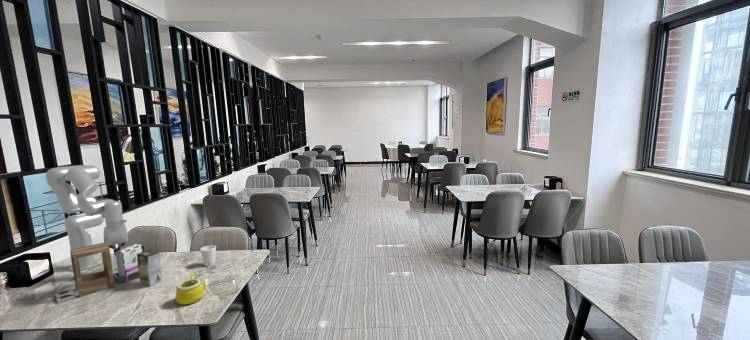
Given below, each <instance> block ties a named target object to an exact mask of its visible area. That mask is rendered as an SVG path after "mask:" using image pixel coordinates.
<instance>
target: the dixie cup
mask: <svg viewBox="0 0 750 340" xmlns="http://www.w3.org/2000/svg"><path fill="white" fill-rule="evenodd" d="M199 250H200V253H201V257H202V261H203V264H204V265H205V267H211V266H210V265H212V266H214V265H215V264H216V258H217V257H216V255H217V254H216V252H217V246H216V245H206V246H202V247H200V249H199ZM213 264H214V265H213ZM204 265H203V266H204Z"/></svg>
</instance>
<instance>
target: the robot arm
mask: <svg viewBox="0 0 750 340" xmlns="http://www.w3.org/2000/svg"><path fill="white" fill-rule="evenodd" d="M100 176H101V171H100V170H99V168H98V167H96V166H94V165H86V164H79V165H67V166H58V167H57V166H56V167H52V168H50V169H48V170H47V171H46V173H45V179H46V183H47V185H48V186H49V187H50V189H51V190H52V191H53V192H54V195H55V196H56V199H57V202H58V203H59V206H60V208H61V210H62V212H63V213H65V214H72V215H69V216H67V217H66V218H65V219H64V221H63V224H64V227H65V231H66V233H67V236H68V242H69V248H70V249H69V250H72V249H77V248H81V247H86V246H91V245H93V242H92V236H91V234H90V233H89V232H88V231H86V230H88V229H91V228H96V227H99V226H101V225H102V224H103V223H104V221H105V226H104V228H103V243H105V244H106V245H107V246H108V247H109V248H110V249H112V251H113V255H114V256H116V253H115V252H116V251H119V250H121V249H123V247H124V246H125V245H127V244H129V235H128V231H127V230H128V229H127V226H126V225H125V223H127V219H124V215H123V206H122V204H123V203H122V201H119V200H114V199H110V198H108V199H107V198H106V199H101V200H97V199H96V198H95V197H94V195H92V194H93V193H95V192H96V191H97V189H98V187H99V186H98V184H97V183H96V181H95V180H98V179H99V178H100ZM68 182H70V183H71V184H72V185H73V186H72V185H71V184H69V183H68ZM76 190H77V191H78V194H77V191H76ZM80 212H82V213H80ZM75 213H76V214H75ZM116 245H117V246H116ZM79 264H80V271H84V270H88V269H91V268H94V267H96V266H98V264H99V261H97V260H95V254H94V255H90V256H85V257H81V258H79ZM69 271H71V272H73V268H72V265H71V266H70V267H69Z"/></svg>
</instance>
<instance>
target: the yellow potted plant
mask: <svg viewBox="0 0 750 340" xmlns="http://www.w3.org/2000/svg"><path fill="white" fill-rule="evenodd" d="M200 273H201V269H200V270H198V274H197V273H196V271H194V270H193V271H192V272H191V273H190V278H189V279H185V280H184V281H181V282H180V283H179V284H177V285H176V290H175V301H176V303H178V304H180V305H189V304H193V303H196V302H198V301H199V300H201V299H202V298H203V296H204V293H205V291H206V289H207V287H206V283H205V282H204V281H201V280H200V279H199V275H200ZM202 284H203V286H202Z"/></svg>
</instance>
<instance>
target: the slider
mask: <svg viewBox="0 0 750 340" xmlns="http://www.w3.org/2000/svg"><path fill="white" fill-rule="evenodd" d="M141 245H142V252H144V251H146V250H145V245H144V244H141ZM113 278H114V282H116V284H122V283H125V281H126V280H125V276H121V277H119V273H118V272H115V273H114V272H113ZM138 278H139V279H140V277H139V271H138V272H135V273H131V274H129V275H128V281H127V282H130V281H131V280H134V279H138Z"/></svg>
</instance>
